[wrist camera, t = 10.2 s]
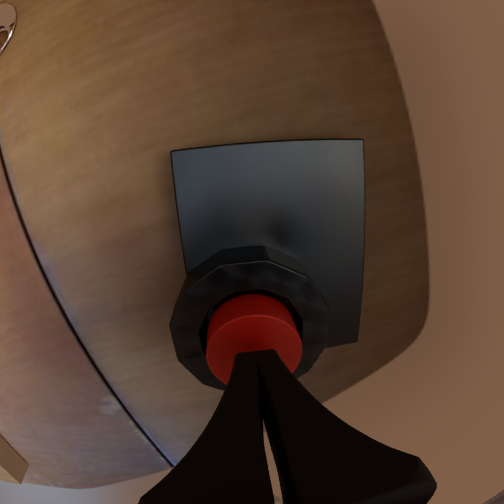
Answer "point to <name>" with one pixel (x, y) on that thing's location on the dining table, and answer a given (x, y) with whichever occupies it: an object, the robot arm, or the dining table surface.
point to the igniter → (250, 332)
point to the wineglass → (6, 23)
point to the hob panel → (11, 464)
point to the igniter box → (271, 239)
